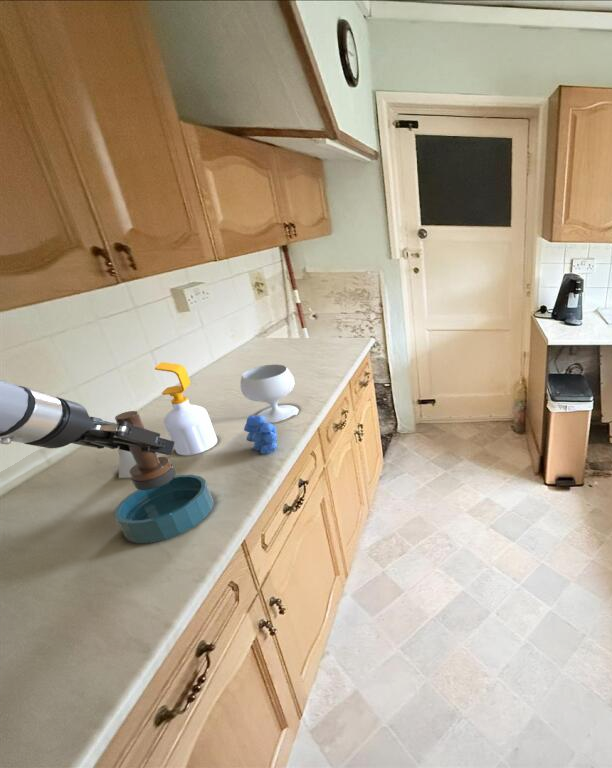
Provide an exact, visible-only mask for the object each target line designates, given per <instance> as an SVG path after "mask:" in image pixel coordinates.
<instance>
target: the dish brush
mask: <svg viewBox="0 0 612 768" xmlns="http://www.w3.org/2000/svg"><path fill="white" fill-rule="evenodd" d="M114 420H115V423H116V424H117V423H119V422H120V421H126V422H128V423H130V424H131V425H134V426H137V427H140V428H143V429H146V427H145V425H144V423H143V421H142V419H141V416H140V413H139V412H138V411H137V410H130V411H129V410H128V411H125V412H121V413H119V414H116V415H115V416H114ZM128 447H129V449H130V451H131V453H132V455H133V458H134V460H135V462H136V465H134V466H133V467H132V468H131V469H130V474H131V476H132V477H131V478H130V480H131V482H132V484H133V486H134V488H135V489H136V490H149V489H154V488H157V487H160V486H162V485H164V484H166V483H168V482H170V481H171V480H172V479H173V478H174V477H175V476H177V472H176V470H175V469H176V468H175V467H174V465H173V463H171V461H170V459H169V458H168V457H167V456H158V455H157V454H158V453H157V452H153V451H149V452H142V449H141V447H137V446H132V445H128Z"/></svg>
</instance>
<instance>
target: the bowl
mask: <svg viewBox="0 0 612 768" xmlns="http://www.w3.org/2000/svg"><path fill="white" fill-rule="evenodd" d="M214 503H215V502H214V498H213V496H212V492H211V490H210V488H209V486H208V483H207V481H206V479H205V478H203V477H202V476H200V475H196V474H179V475H176V476H175V477H174V478H173V479H172V480H171V481H170V482H168V483H166V484H164V485H162V486H160V487H157V488H154V489H149V490H138V489H136V490H135V491H133V492H131V493H130V494H128V496H126V497H125V498H123V499H122V500H121V501H120V502H119V504H118V505H117V506H116V508H115V509H114V515H113V517H114V519H115V521H116V522H117V524H118V527H119V528H120V530H121V531H122V534H123V535H124V537H125V538H126V539H127V541H129V542H132V543H135V544H153V543H157V542H161V541H166V540H169V539H171V538H174V537H178V536H179V535H181V534H184V533H185V532H186V531H189V530H190V529H192V528H194V527H195V526H196V525H198V524H199V523H201V522H202V521H203V520H204V519H205V518H206V517H207V516H208V515H209V514H210V512H211V511H212V509H213V507H214V505H215V504H214Z"/></svg>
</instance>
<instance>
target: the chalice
mask: <svg viewBox="0 0 612 768" xmlns="http://www.w3.org/2000/svg"><path fill="white" fill-rule="evenodd" d="M295 385H296V381H295V378H294V375H293V374H292V372H291V371H290V369H289V368H288V367H287V366H285V365H284V364H283V365H282V364H266V365H259V366H256V367H253V368H250V369H248V370H246V371H245V372H243V373H242V375H241V378H240V391H241V393H242V395H243V396H244V397H245V398H246V399H247V400H250V401H253V402H258V403H266V404H268V405H269V406H270V407H268V408H266V409H264V410H262V411H260V412H258V414H257V415H260V416H263V417H265V418H266V420H265V422H269V423H276V422H281V421H284V420H286V419H289V418H290V417H293V416H297V415H298V414H299V410H300V409H299V408H298V407H297V406H294V405H289V404H288V405H287V404H283V405H279V401H280V400H281V399H283V398H284V397H286V396H288V395H289V394H290V393H291V392H292V391H293V390H294V388H295Z"/></svg>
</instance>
